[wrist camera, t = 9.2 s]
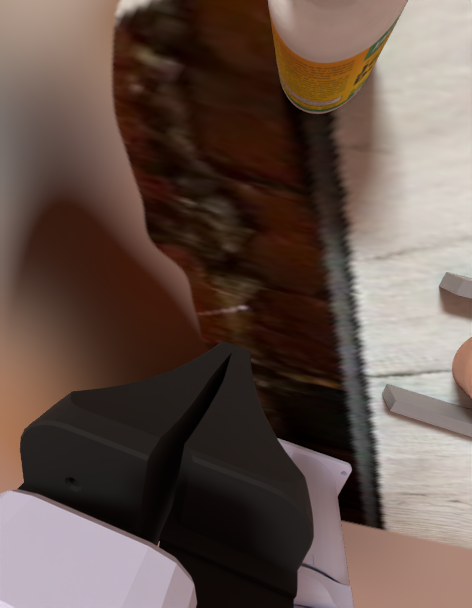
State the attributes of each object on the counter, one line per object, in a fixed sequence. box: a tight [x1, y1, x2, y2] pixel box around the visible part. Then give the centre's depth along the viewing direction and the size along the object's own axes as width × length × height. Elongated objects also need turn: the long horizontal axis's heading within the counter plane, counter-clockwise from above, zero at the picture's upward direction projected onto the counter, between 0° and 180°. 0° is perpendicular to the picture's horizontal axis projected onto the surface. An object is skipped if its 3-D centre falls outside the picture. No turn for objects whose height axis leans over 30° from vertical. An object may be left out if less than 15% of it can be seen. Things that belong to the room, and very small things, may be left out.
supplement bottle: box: [268, 0, 408, 114], centre depth 11 cm, size 5×5×10 cm
